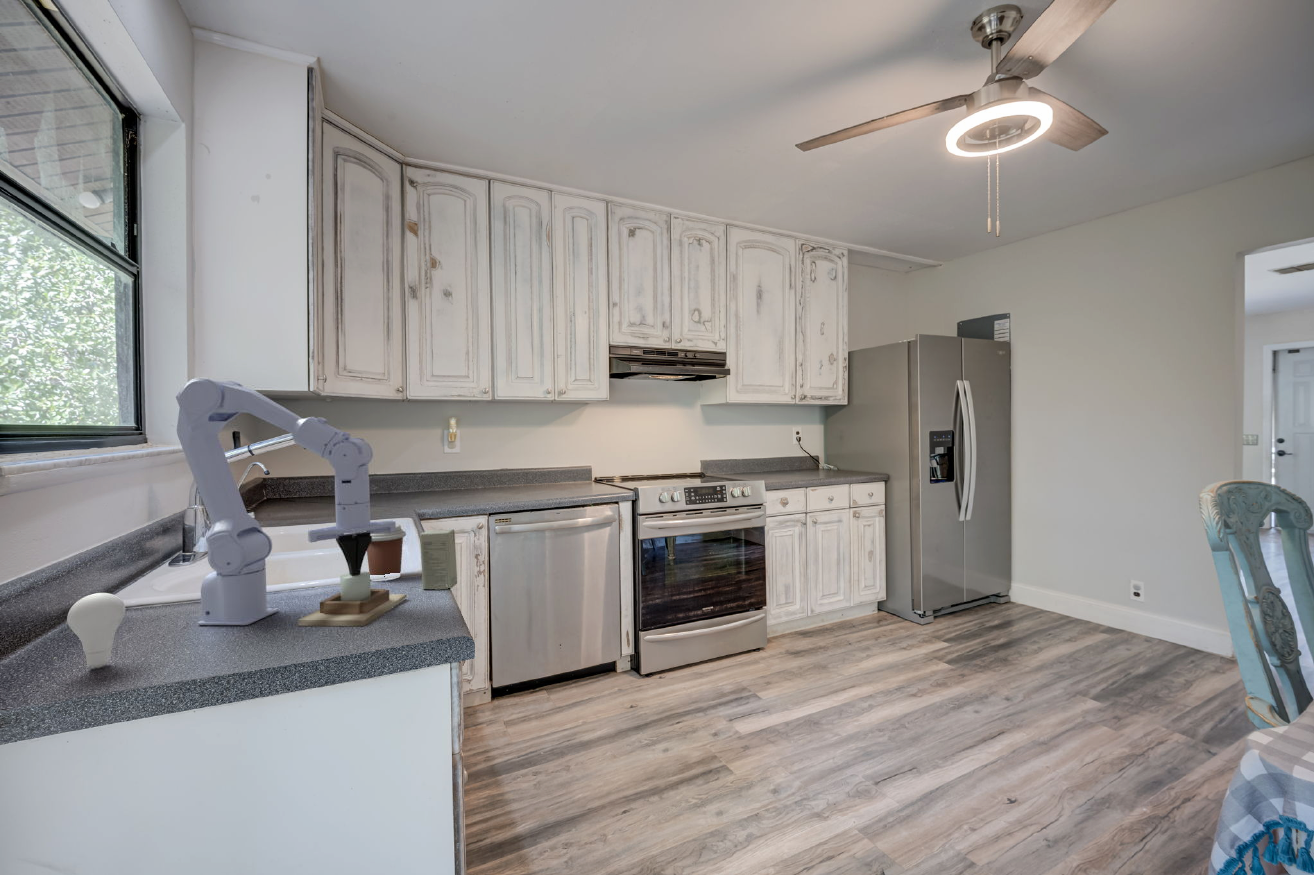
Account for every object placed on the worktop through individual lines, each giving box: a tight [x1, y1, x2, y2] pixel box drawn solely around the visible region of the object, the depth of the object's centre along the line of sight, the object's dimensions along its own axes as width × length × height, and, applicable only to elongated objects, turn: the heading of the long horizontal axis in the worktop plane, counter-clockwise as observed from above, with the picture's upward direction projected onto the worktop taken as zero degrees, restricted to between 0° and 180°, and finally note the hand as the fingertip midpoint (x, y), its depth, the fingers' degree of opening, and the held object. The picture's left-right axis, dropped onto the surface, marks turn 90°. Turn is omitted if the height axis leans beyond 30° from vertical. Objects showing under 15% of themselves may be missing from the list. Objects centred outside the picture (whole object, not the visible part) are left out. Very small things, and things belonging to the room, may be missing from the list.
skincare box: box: [419, 528, 458, 590], centre depth 122 cm, size 6×4×12 cm
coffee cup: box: [366, 523, 407, 577], centre depth 130 cm, size 9×9×12 cm
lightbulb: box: [66, 592, 126, 669], centre depth 83 cm, size 6×6×11 cm
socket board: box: [297, 588, 407, 627], centre depth 107 cm, size 12×15×3 cm
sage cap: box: [339, 571, 372, 601], centre depth 107 cm, size 5×5×6 cm
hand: (354, 574), depth 107 cm, fingers closed
